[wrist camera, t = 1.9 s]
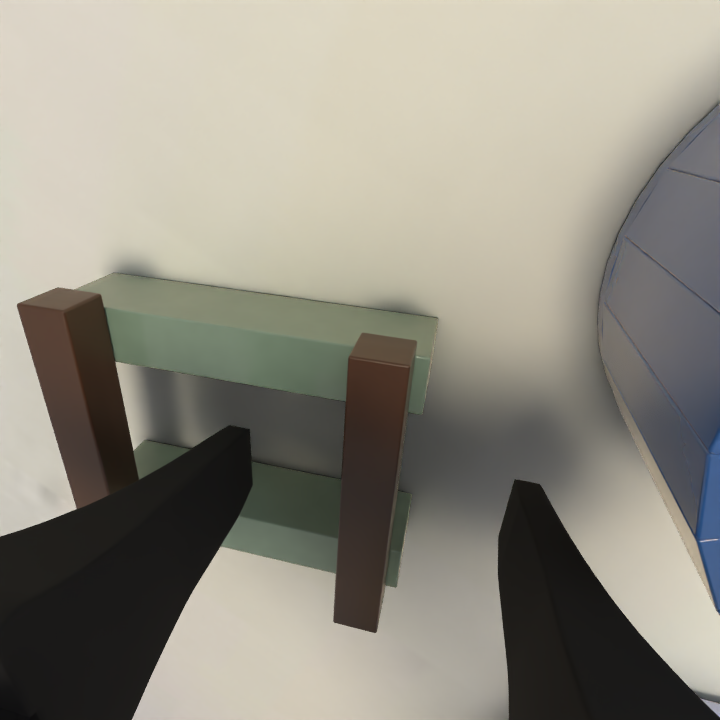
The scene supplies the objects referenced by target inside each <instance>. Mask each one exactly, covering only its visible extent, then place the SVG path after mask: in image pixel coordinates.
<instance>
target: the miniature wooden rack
mask: <svg viewBox="0 0 720 720" xmlns="http://www.w3.org/2000/svg"><path fill="white" fill-rule="evenodd" d="M74 290H79V291H85V292H92V293H99V294H101V296H102V300H103V305H104V310H105V315H106V319H107V324H108V329H109V334H110V339H111V344H112V349H113V354H114V359H115V362H121V363H127V364H132V365H138V366H144V367H150V368H155V369H161V370H167V371H172V372H178V373H184V374H190V375H195V376H201V377H207V378H213V379H218V380H224V381H230V382H236V383H241V384H247V385H253V386H258V387H264V388H270V389H276V390H281V391H287V392H293V393H299V394H304V395H310V396H316V397H321V398H327V399H333V400H339V401H344V402H346V388H347V370H348V357H349V355H350V353H351V351H352V349H353V348H354V346H355V344H356V342H357V340H358V338H359V337H360V335H361V333H370V334H376V335H383V336H390V337H397V338H403V339H410V340H416V341H417V348H416V356H415V363H414V371H413V379H412V386H411V394H410V401H409V409H408V413H413V414H419V415H422V413H423V409H424V404H425V398H426V393H427V388H428V382H429V377H430V372H431V366H432V359H433V353H434V346H435V340H436V333H437V326H438V318H433V317H426V316H419V315H412V314H404V313H397V312H390V311H383V310H376V309H369V308H362V307H354V306H347V305H340V304H333V303H326V302H319V301H312V300H305V299H297V298H290V297H283V296H276V295H269V294H262V293H255V292H247V291H240V290H233V289H226V288H219V287H212V286H205V285H197V284H190V283H183V282H176V281H169V280H162V279H155V278H147V277H140V276H133V275H126V274H119V273H112V274H110V275H107V276H105V277H103V278H100V279H98V280H96V281H93V282H91V283H89V284H86V285H84V286H82V287H79V288H77V289H74ZM189 450H191V449H188V448H183V447H178V446H173V445H168V444H163V443H158V442H153V441H148V440H144V441H143V442H142V443H141V444H140V445H139V446H138V447H137V448H136V449H135V450H134V456H135V461H136V466H137V471H138V476H139V479H141V478H143V477H145V476H147V475H148V474H150V473H152V472H154V471H155V470H157V469H159V468H161V467H163V466H164V465H166V464H168V463H169V462H171V461H173V460H174V459H176V458H178V457H179V456H181V455H182V454H184V453H186V452H187V451H189ZM251 462H252V461H251ZM252 478H253V486H252V488H251V490H250V493H249V495H248V497H247V499H246V502H245V504H244V506H243V508H242V510H241V512H240V515H239V517H238V518H237V520H236V522H235V523H234V525H233V527H232V528H231V530H230V532H229V533H228V535H227V537H226V538H225V540H224V541H223V543H222V545H221V547H226V548H230V549H234V550H238V551H242V552H247V553H251V554H255V555H259V556H264V557H268V558H272V559H276V560H280V561H285V562H289V563H293V564H297V565H302V566H306V567H310V568H314V569H319V570H323V571H327V572H331V573H335V574H336V565H337V547H338V530H339V512H340V494H341V479H336V478H331V477H326V476H321V475H316V474H311V473H306V472H301V471H296V470H291V469H286V468H281V467H276V466H272V465H267V464H262V463H257V462H252ZM411 499H412V494H410V493H405V492H400V491H398V493H397V500H396V508H395V516H394V523H393V531H392V538H391V546H390V554H389V561H388V569H387V577H386V584H385V585H386V586H390V587H395V588H396V587H397V583H398V577H399V572H400V566H401V560H402V554H403V549H404V543H405V537H406V531H407V525H408V518H409V512H410V505H411Z"/></svg>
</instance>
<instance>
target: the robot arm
mask: <svg viewBox="0 0 720 720" xmlns="http://www.w3.org/2000/svg"><path fill="white" fill-rule="evenodd" d="M252 486H253V478H252V462H251V445H250V429H246V428H241V427H236V426H231V425H229V426H227V427H226V428H224V429H222V430H221V431H219V432H217V433H216V434H214V435H213V436H211V437H209V438H208V439H206V440H205V441H203V442H202V443H200V444H198V445H197V446H195V447H194V448H192V449H191V450H189V451H187V452H186V453H184V454H182V455H181V456H179V457H178V458H176V459H174V460H173V461H171V462H169V463H168V464H166V465H164V466H163V467H161V468H159V469H157V470H155V471H154V472H152V473H150V474H148V475H147V476H145V477H143V478H141V479H139V480H138V481H136V482H134V483H132V484H130V485H128V486H127V487H125V488H123V489H121V490H119V491H117V492H115V493H112V494H110V495H108V496H106V497H104V498H102V499H100V500H97V501H95V502H93V503H91V504H88V505H86V506H84V507H81V508H79V509H76V510H74V511H71V512H69V513H66V514H64V515H61V516H59V517H56V518H54V519H51V520H49V521H46V522H43V523H40V524H38V525H35V526H32V527H29V528H26V529H23V530H20V531H17V532H14V533H11V534H7V535H4V536H1V537H0V720H132V718H133V716H134V713H135V711H136V709H137V707H138V704H139V702H140V700H141V698H142V695H143V693H144V691H145V688H146V686H147V684H148V682H149V679H150V677H151V675H152V673H153V671H154V668H155V666H156V664H157V662H158V660H159V658H160V656H161V654H162V651H163V649H164V647H165V645H166V643H167V641H168V639H169V637H170V635H171V633H172V630H173V628H174V626H175V624H176V622H177V620H178V618H179V616H180V614H181V612H182V610H183V608H184V606H185V604H186V602H187V601H188V599H189V597H190V595H191V593H192V592H193V590H194V588H195V586H196V585H197V583H198V582H199V580H200V578H201V577H202V575H203V574H204V572H205V570H206V569H207V567H208V566H209V564H210V562H211V561H212V559H213V558H214V556H215V554H216V553H217V551H218V550H219V548H220V546H221V545H222V543H223V541H224V540H225V538H226V537H227V535H228V533H229V532H230V530H231V528H232V527H233V525H234V523H235V522H236V520H237V518H238V517H239V515H240V512H241V510H242V508H243V506H244V504H245V502H246V499H247V497H248V495H249V493H250V490H251V488H252ZM498 580H499V591H500V601H501V610H502V620H503V629H504V639H505V648H506V658H507V669H508V684H509V720H720V703H716V702H712V701H708V700H704V699H700V698H699V697H698V696H697V695H696V694H695V693H694V692H693V691H692V690H691V689H690V688H689V687H688V686H687V685H686V684H685V683H684V682H683V681H682V679H681V678H680V677H679V676H678V675H677V674H676V673H675V672H674V671H673V670H672V669H671V668H670V667H669V665H668V664H667V663H666V662H665V661H664V660H663V659H662V658H661V657H660V656H659V655H658V654H657V653H656V652H655V650H654V649H653V648H652V647H651V646H650V645H649V644H648V643H647V641H646V640H645V639H644V638H643V637H642V636H641V635H640V633H639V632H638V631H637V630H636V629H635V627H634V626H633V625H632V624H631V622H630V621H629V620H628V619H627V618H626V616H625V615H624V614H623V613H622V611H621V610H620V609H619V607H618V606H617V605H616V604H615V602H614V601H613V600H612V598H611V597H610V596H609V594H608V593H607V591H606V590H605V589H604V587H603V586H602V584H601V583H600V582H599V580H598V579H597V577H596V576H595V575H594V573H593V572H592V570H591V569H590V567H589V566H588V564H587V563H586V561H585V560H584V558H583V557H582V555H581V553H580V552H579V550H578V549H577V547H576V545H575V544H574V542H573V541H572V539H571V538H570V536H569V534H568V533H567V531H566V529H565V528H564V526H563V524H562V522H561V521H560V519H559V517H558V515H557V514H556V512H555V510H554V508H553V507H552V505H551V503H550V501H549V499H548V497H547V495H546V494H545V492H544V490H543V488H542V487H541V485H540V484H537V483H532V482H527V481H521V480H516V479H514V483H513V486H512V490H511V494H510V497H509V501H508V504H507V508H506V511H505V515H504V518H503V522H502V526H501V529H500V533H499V537H498Z"/></svg>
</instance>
